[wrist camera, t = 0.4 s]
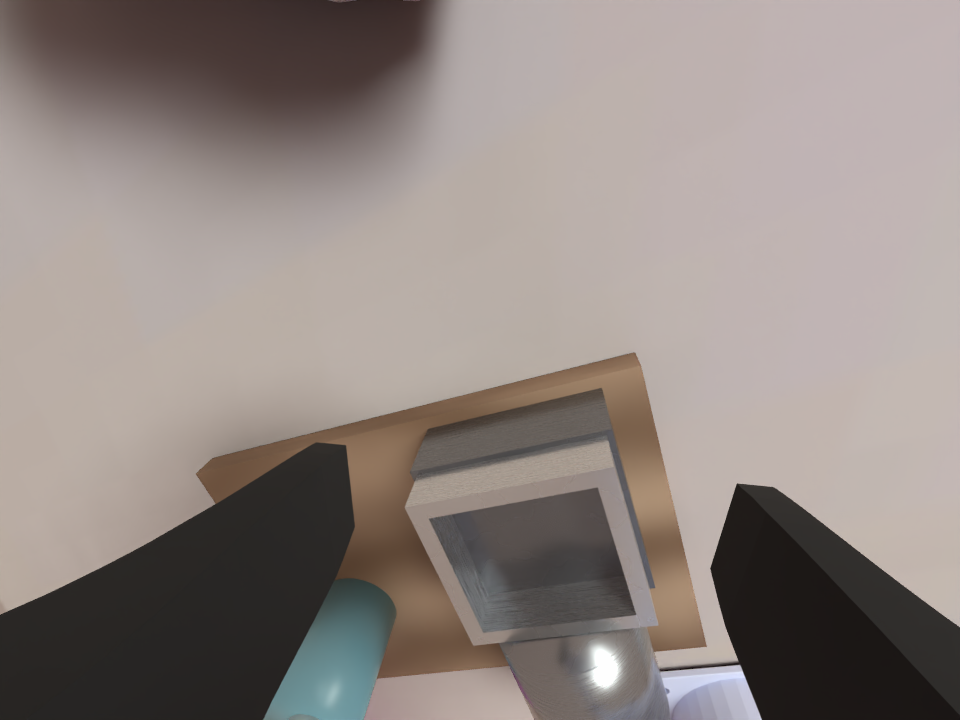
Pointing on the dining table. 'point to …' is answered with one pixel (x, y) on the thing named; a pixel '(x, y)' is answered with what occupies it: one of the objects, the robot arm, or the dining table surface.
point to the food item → (354, 0)
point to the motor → (545, 554)
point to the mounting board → (399, 551)
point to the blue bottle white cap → (338, 656)
